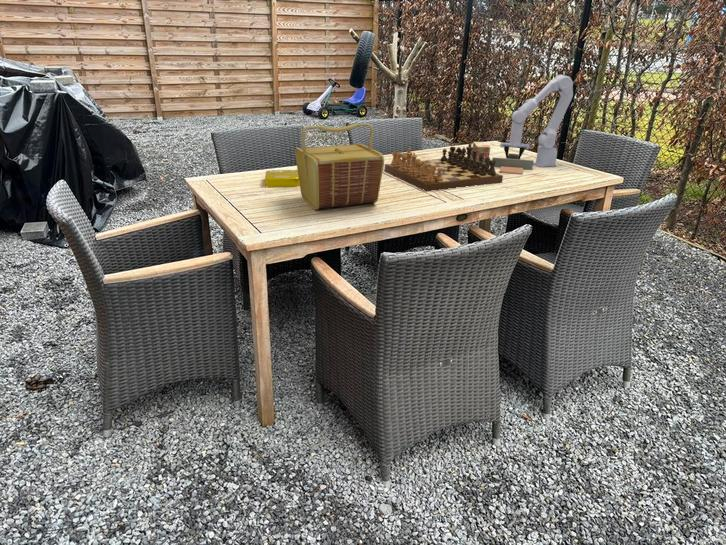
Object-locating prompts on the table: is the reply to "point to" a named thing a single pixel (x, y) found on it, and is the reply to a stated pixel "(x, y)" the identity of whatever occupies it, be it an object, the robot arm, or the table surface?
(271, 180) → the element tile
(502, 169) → the tile
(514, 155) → the letter cube
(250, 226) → the table surface
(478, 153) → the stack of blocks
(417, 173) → the chess set
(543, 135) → the robot arm
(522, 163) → the screen
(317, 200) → the picnic basket
